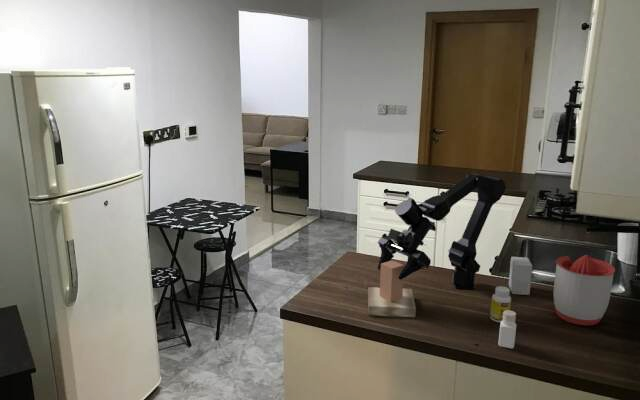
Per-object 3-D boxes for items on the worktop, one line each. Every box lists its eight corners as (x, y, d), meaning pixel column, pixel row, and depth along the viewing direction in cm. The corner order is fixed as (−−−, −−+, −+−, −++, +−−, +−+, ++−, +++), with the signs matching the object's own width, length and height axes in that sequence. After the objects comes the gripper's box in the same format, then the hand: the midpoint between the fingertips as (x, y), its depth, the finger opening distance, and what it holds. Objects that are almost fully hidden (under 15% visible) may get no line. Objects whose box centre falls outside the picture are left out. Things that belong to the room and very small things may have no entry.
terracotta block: (391, 292, 165) (392, 260, 162) (402, 298, 161) (403, 265, 159) (379, 296, 162) (380, 263, 160) (390, 302, 158) (392, 268, 156)
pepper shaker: (499, 339, 143) (502, 308, 140) (514, 342, 141) (517, 311, 139) (497, 346, 139) (501, 314, 137) (513, 349, 138) (517, 317, 135)
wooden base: (410, 297, 169) (411, 288, 168) (415, 317, 155) (415, 308, 155) (368, 295, 170) (368, 287, 169) (368, 315, 156) (368, 306, 156)
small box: (529, 295, 171) (533, 265, 168) (511, 294, 172) (514, 264, 169) (525, 286, 178) (528, 257, 176) (508, 284, 179) (511, 256, 177)
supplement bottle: (499, 324, 151) (502, 294, 149) (485, 317, 156) (488, 287, 153) (512, 321, 153) (516, 290, 151) (499, 313, 158) (502, 283, 156)
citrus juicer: (594, 305, 164) (603, 246, 159) (615, 332, 147) (625, 266, 142) (542, 301, 166) (549, 242, 161) (556, 327, 150) (565, 262, 145)
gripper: (382, 212, 165) (355, 251, 162) (426, 226, 151) (397, 270, 147) (399, 231, 172) (373, 269, 168) (442, 247, 157) (415, 289, 153)
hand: (388, 274), depth 159 cm, fingers open, 9 cm apart
